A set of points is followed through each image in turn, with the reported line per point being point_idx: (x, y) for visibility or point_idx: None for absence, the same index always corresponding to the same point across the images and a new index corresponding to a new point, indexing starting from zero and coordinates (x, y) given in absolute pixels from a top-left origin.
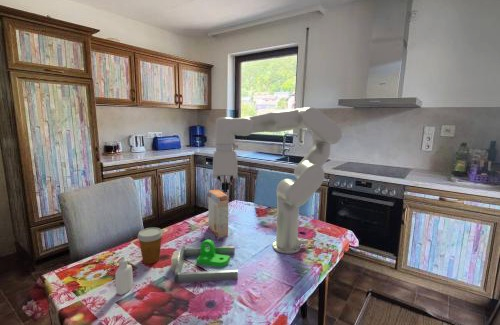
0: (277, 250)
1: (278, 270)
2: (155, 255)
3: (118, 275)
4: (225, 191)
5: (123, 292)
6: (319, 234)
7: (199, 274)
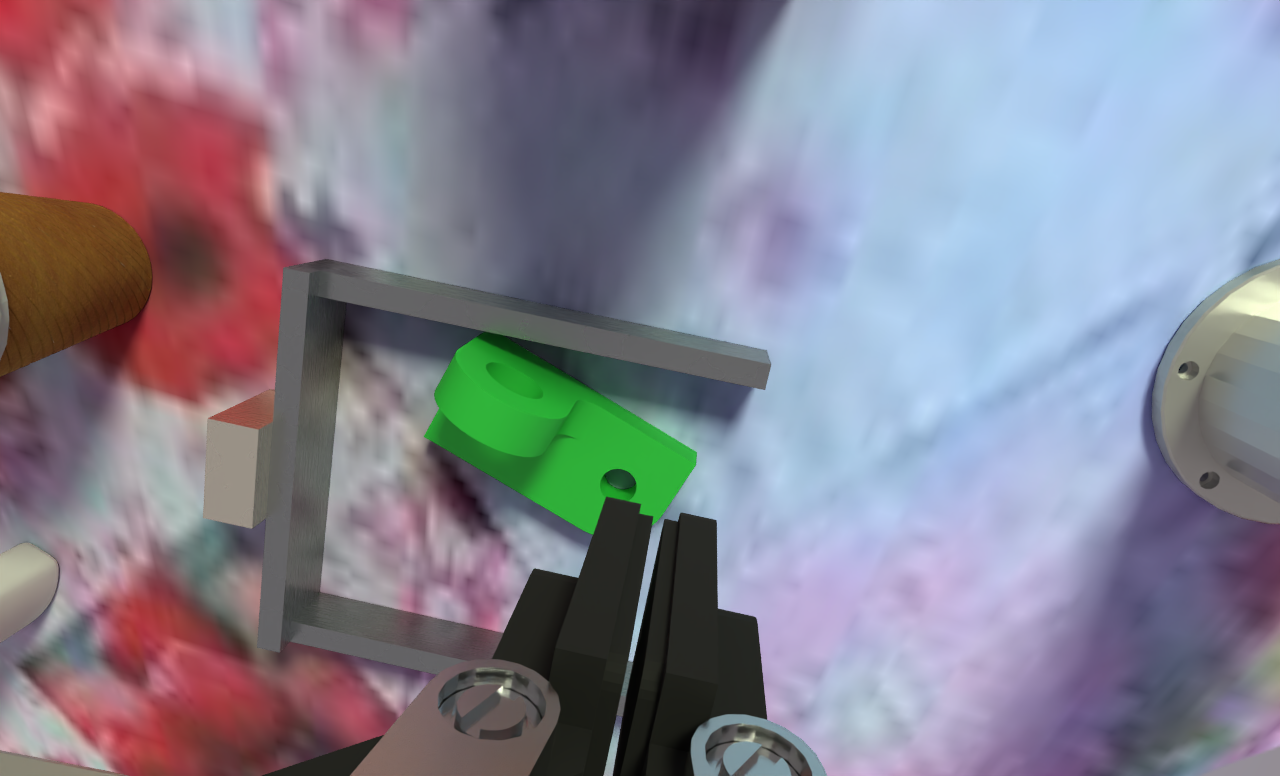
0: (1161, 445)
1: (998, 689)
2: (90, 335)
3: None
4: (625, 702)
5: (23, 627)
6: None
7: (427, 668)
